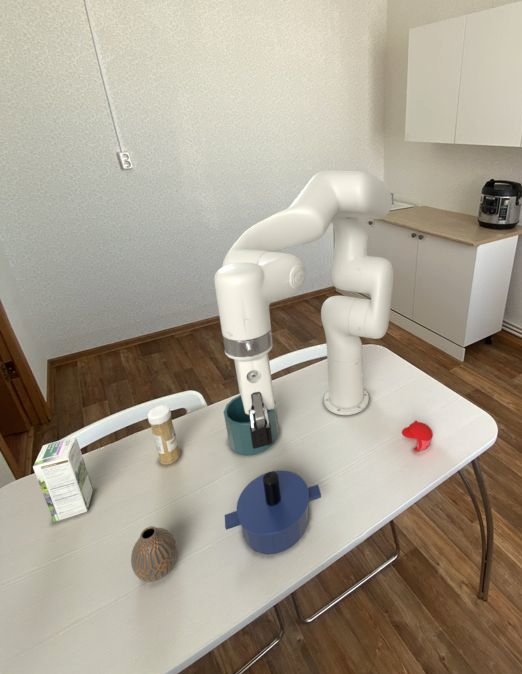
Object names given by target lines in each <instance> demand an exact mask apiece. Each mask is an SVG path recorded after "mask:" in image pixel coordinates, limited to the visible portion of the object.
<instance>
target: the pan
mask: <svg viewBox="0 0 522 674" xmlns="http://www.w3.org/2000/svg"><path fill="white" fill-rule="evenodd" d="M308 490H309V503H310V502H312V501H315V500H318V499H321V498H322V493H321V489H320V486H319V484H315V485H311V486H308ZM309 516H310V511H309V506H308V507H307V509H306V511H305V513H304V515H303V516H302V518H301V519H300V520H299V521H298V522H297V523H296V524H295V525H294V526H292V527H291V528H290V529H288V530H286V531H284V532H282V533H279V534H276V535H271V536H259V535H255V534H252V533H250V532H248V531H247V530H245V529H244V528H243V527H242V525H241V524H240V522H239V520H238V517H237V510H235V511H231V512H228V513H226V514H224V528H225V530H226V531H228V530H231V529H233V528H236V527H239V526H241V531H242V536H243V539H244V541H245V543H246V545H247V546H248V547H249V548H250V549H252V550H253V551H254V552H256V553H259V554H263V555H276V554H279V553H283V552H285V551H288V550H289V549H291V548H292V547H293V546H294V545H296V544H297V543H298V542H299V541H300V540H301V539H302V537H303V536H304V534H305V532H306V530H307V528H308V524H309V518H310V517H309Z"/></svg>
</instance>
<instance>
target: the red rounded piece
mask: <svg viewBox="0 0 522 674" xmlns="http://www.w3.org/2000/svg"><path fill="white" fill-rule="evenodd" d="M401 435H402V436H403V437H405V438H407V439H413V440H417V447H414V448H413V451H414V452H417V453H418V452H421V451H425V450H427V449H428V448H429V447H430V443H431V441H432V439H433V437H434V433H433V430H432V428H431V426H429V425H428V424H426V423H424V422H422V421H418V420H414V421H413V422H412V423H410V424H409V425H408V426H406V427H404V428H403V429H402V430H401Z"/></svg>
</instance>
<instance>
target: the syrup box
mask: <svg viewBox="0 0 522 674" xmlns="http://www.w3.org/2000/svg"><path fill="white" fill-rule="evenodd" d="M32 468H33V472H34V474H35V477H36V480H37V482H38V485H39V488H40V490H41V492H42V495H43V497H44V501H45V503H46V505H47V508H48V511H49V513H50V515H51V517H52V521H53V522H54V523H55V522H60V521H62V520H63V521H64V520H65V519H68V518H72V517H75V516H78V515H82V514H84V513H87V512H89V509H90V504H91V500H92V497H93V492H94V486H93V484H92V481H91V477H90V475H89V472H88V469H87V466H86V463H85V460H84V456H83V454H82V450H81V447H80V444H79V441H78V438H77V437H72V438H65V439H61V440H57V441H53V442H49V443H46V444H44V445H42V446H41V449H40V451H39V453H38V455H37V458H36V460H35V462H34V464H33V466H32Z"/></svg>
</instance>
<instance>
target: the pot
mask: <svg viewBox="0 0 522 674" xmlns="http://www.w3.org/2000/svg"><path fill="white" fill-rule="evenodd" d="M274 401H275V408H274V409H271V410H268V409H267V413H268V420H269V422H270V425H271V433H272V444H270V445H267V446H263V447H259V448H255V449H254V448H253V447H252V440H251V432H250V427H251V420H250V414H249V415H248V414H246V413H245V410H244V406H243V402H242V398H241V394H239V395H237V396H235V397H234V398H231V400H230V401H229V402H228V403H226V405H225V407H224V410H223V417H224V422H225V428H226V429H225V430H226V434H227V440H228V446H229V447H230V449H231V450H232V451H233V452H234V453H235V454H238V455H241V456H252V455H253V456H254V455H258V454H261V453H263V452H265V451H267V450H268V449H270V448H271V447H272V446H273V445H274V444H275V443H276V442H277V440H278V438H279V435H280V434H279V433H280V432H279V431H280V427H279V426H280V425H279V418H278V411H277V410H278V409H277V402H276V400H275V399H274ZM263 413H264V411H263ZM253 417H254V422H255V421H256V417H255V414H253ZM264 419H265V417H264Z"/></svg>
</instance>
